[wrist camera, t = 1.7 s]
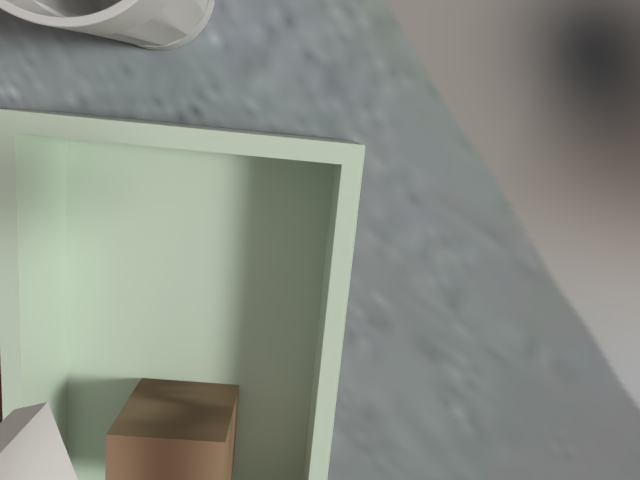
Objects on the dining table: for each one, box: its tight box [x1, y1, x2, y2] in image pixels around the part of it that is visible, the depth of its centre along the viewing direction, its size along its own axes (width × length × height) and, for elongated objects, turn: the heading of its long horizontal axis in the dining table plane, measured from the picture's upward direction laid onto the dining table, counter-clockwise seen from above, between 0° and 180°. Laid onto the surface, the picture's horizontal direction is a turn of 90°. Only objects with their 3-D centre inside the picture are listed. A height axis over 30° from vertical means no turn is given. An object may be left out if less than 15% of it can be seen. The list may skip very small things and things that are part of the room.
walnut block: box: [105, 378, 239, 480], centre depth 30 cm, size 6×6×6 cm
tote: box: [0, 109, 365, 480], centre depth 29 cm, size 17×24×6 cm
